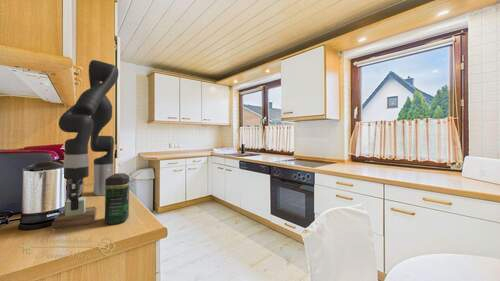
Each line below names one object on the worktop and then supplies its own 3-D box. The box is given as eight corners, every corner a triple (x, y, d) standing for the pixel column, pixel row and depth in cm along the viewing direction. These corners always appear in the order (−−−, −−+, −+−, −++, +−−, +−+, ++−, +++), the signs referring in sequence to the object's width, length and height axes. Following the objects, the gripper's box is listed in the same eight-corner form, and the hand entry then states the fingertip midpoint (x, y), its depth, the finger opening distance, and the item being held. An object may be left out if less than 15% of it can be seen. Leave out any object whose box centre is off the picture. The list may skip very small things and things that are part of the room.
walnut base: (59, 218, 84) (59, 211, 84) (96, 212, 90) (96, 206, 90) (51, 230, 74) (51, 221, 73) (94, 222, 80) (94, 215, 80)
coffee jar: (126, 223, 80) (127, 175, 80) (102, 226, 77) (102, 176, 77) (130, 214, 89) (131, 171, 89) (108, 216, 86) (109, 172, 86)
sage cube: (68, 212, 83) (68, 198, 82) (85, 209, 86) (85, 196, 85) (65, 216, 78) (65, 202, 78) (83, 214, 81) (83, 200, 81)
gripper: (67, 163, 85) (67, 203, 86) (59, 168, 73) (59, 214, 74) (90, 162, 89) (90, 200, 90) (86, 167, 77) (86, 210, 78)
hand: (76, 206), depth 82 cm, fingers open, 8 cm apart
